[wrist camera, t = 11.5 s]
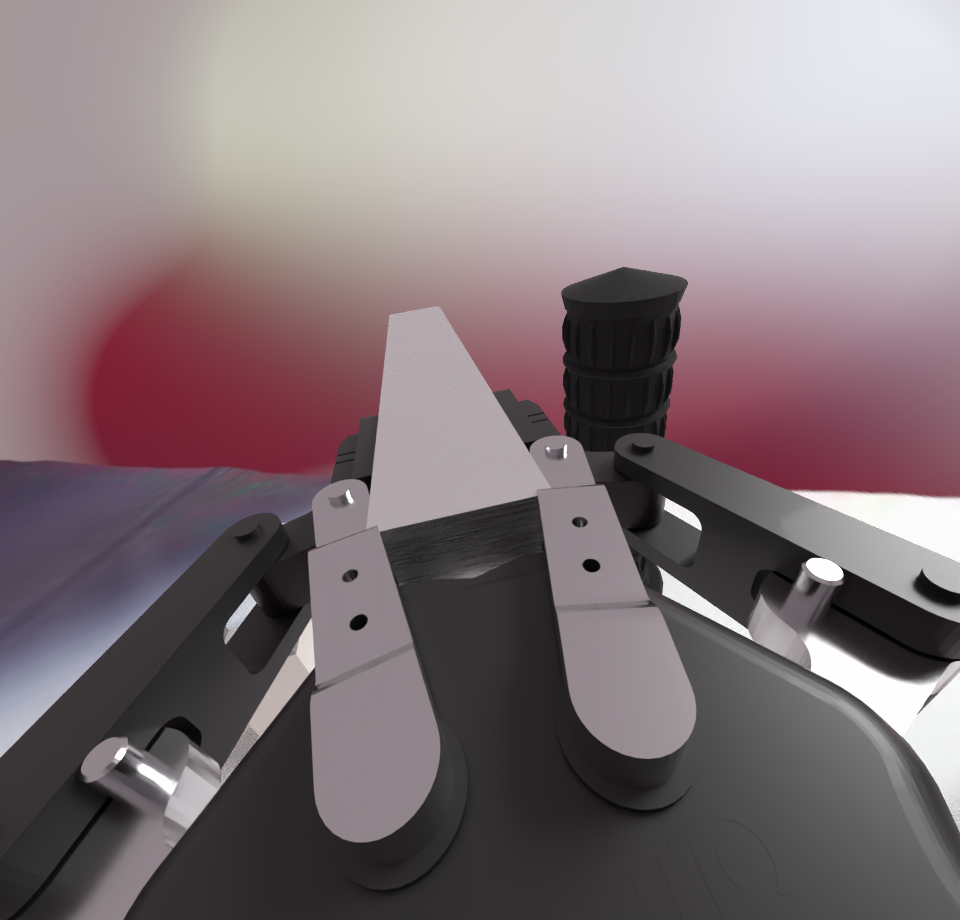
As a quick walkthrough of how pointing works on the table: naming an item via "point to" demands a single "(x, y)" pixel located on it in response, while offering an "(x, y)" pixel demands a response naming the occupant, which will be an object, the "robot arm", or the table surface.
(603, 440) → the handle grip
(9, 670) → the table surface
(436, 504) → the rail
